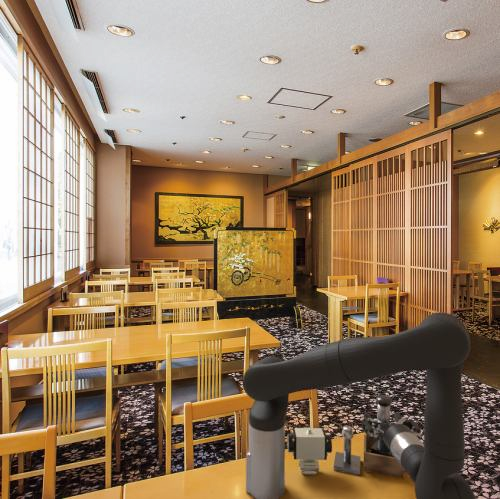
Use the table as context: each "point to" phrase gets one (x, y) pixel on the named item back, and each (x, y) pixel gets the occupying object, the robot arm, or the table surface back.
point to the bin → (380, 461)
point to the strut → (383, 416)
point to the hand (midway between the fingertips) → (380, 415)
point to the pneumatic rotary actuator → (309, 447)
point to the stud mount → (347, 455)
